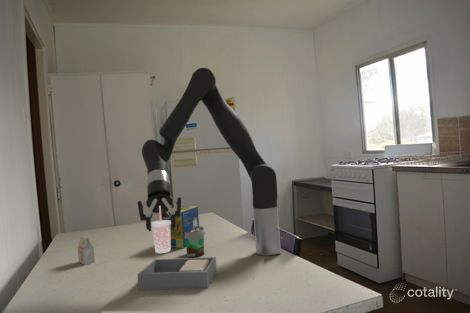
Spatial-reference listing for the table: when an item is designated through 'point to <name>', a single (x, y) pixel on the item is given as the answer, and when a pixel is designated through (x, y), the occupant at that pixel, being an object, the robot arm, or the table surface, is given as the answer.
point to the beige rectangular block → (195, 265)
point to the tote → (175, 274)
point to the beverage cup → (161, 235)
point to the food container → (195, 242)
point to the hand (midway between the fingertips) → (161, 228)
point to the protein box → (182, 224)
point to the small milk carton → (85, 251)
